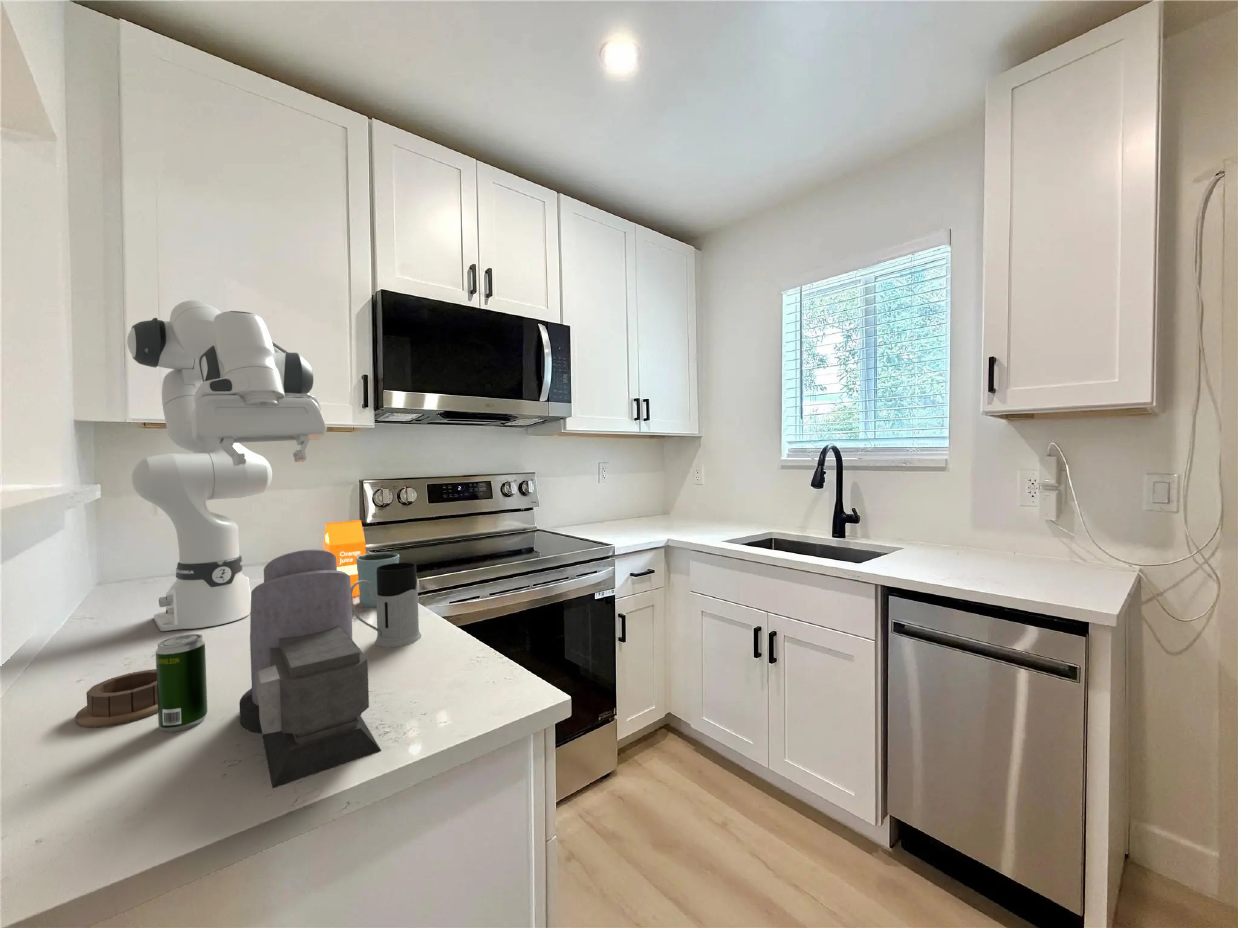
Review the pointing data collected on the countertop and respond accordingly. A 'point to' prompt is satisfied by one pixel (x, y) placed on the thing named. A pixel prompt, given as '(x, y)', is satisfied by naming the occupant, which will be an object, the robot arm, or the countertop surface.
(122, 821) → the countertop surface
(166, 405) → the robot arm
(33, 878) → the countertop surface
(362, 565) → the teal cup
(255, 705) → the juicer
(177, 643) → the beer can
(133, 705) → the collar coaster
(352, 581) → the orange juice
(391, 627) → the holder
